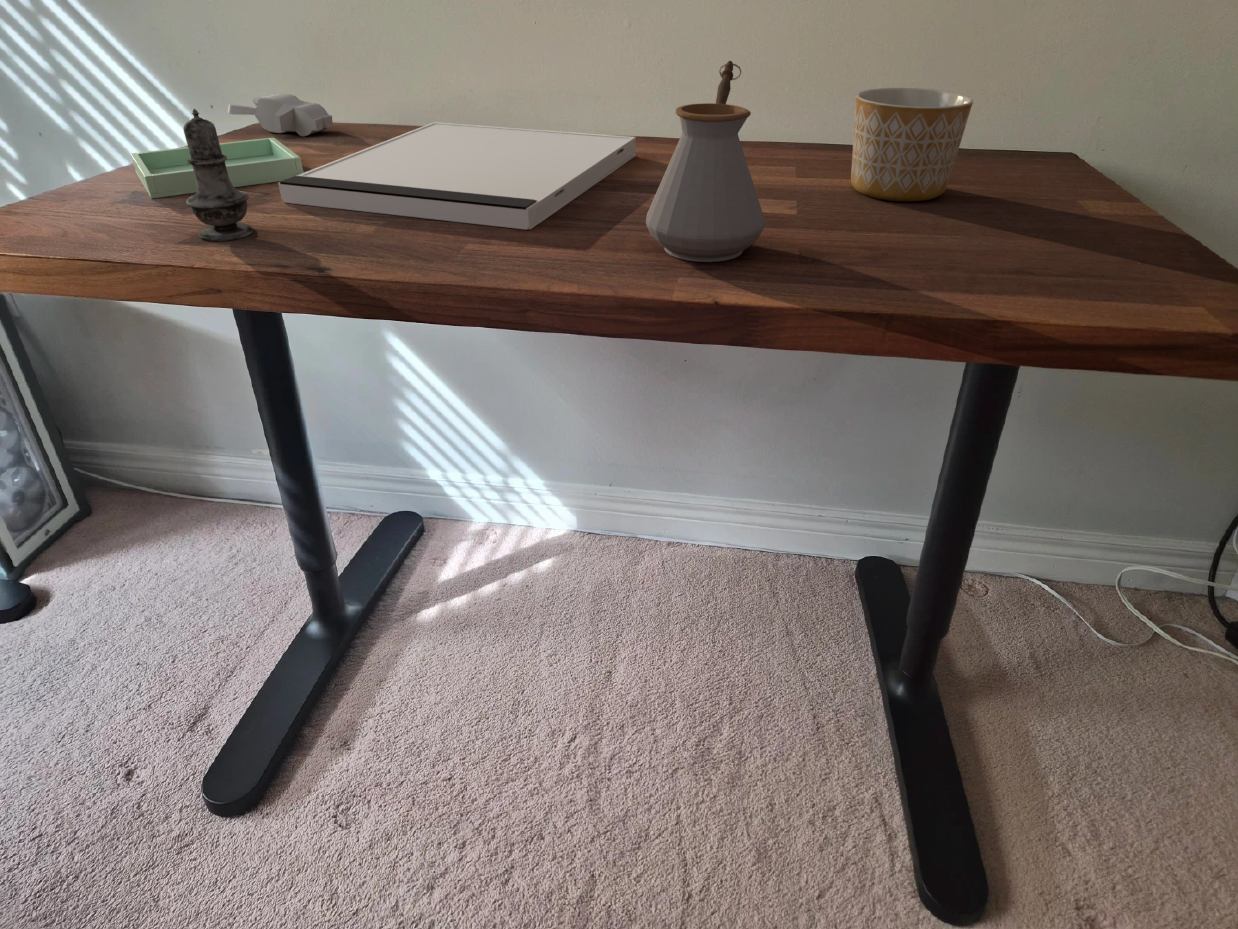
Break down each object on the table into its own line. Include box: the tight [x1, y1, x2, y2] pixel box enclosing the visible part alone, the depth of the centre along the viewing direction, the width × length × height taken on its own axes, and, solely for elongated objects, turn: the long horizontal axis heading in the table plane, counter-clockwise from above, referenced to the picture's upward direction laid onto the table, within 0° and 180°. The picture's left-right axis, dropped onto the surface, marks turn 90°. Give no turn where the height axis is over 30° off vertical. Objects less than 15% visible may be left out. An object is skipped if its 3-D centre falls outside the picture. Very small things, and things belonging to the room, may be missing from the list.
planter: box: [850, 87, 974, 203], centre depth 97 cm, size 13×13×10 cm
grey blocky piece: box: [227, 92, 334, 137], centre depth 127 cm, size 10×5×15 cm
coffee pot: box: [645, 60, 766, 263], centre depth 82 cm, size 21×12×15 cm, turn 167°
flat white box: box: [277, 121, 637, 231], centre depth 104 cm, size 35×2×31 cm
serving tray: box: [130, 137, 305, 199], centre depth 105 cm, size 18×14×2 cm
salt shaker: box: [182, 108, 255, 242], centre depth 83 cm, size 6×6×12 cm
